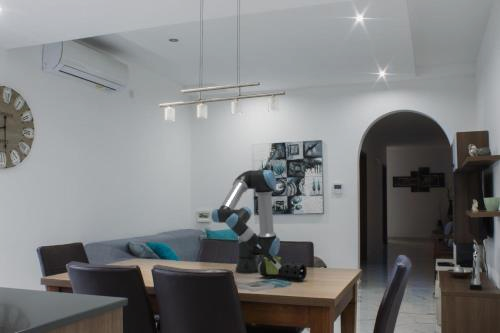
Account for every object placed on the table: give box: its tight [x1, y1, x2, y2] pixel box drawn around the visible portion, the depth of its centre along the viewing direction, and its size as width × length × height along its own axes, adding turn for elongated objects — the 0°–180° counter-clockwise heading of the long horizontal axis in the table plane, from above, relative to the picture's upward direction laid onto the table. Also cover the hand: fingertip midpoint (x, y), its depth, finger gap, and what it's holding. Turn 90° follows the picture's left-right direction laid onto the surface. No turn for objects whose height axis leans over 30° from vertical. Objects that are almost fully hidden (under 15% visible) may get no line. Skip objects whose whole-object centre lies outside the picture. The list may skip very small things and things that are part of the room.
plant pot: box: [263, 256, 282, 274], centre depth 274 cm, size 9×9×9 cm
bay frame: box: [236, 278, 292, 292], centre depth 269 cm, size 18×27×2 cm
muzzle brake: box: [257, 259, 308, 282], centre depth 291 cm, size 10×28×10 cm, turn 55°
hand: (278, 266), depth 274 cm, fingers closed on plant pot, 9 cm apart
